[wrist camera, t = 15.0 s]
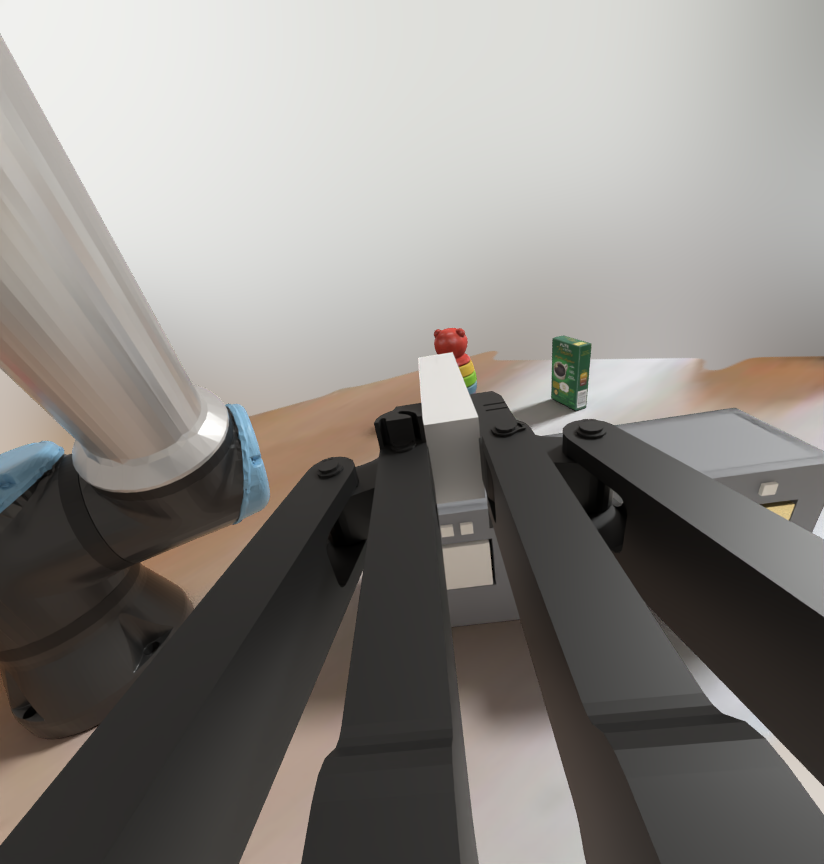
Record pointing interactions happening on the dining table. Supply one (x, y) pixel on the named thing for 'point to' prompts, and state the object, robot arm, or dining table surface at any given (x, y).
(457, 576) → the white button
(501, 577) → the button console
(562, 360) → the coffee box
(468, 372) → the stacking bear
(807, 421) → the dining table surface
